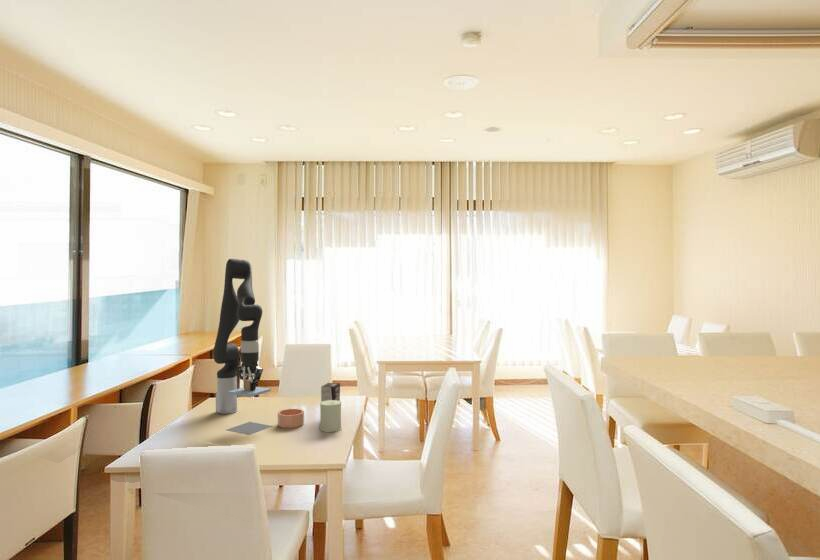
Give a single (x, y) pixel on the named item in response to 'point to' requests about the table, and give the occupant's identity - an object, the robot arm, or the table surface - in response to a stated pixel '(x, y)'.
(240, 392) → the lid
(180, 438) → the table surface
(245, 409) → the table surface
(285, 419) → the bowl
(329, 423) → the can
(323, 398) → the coffee box
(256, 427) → the mat
